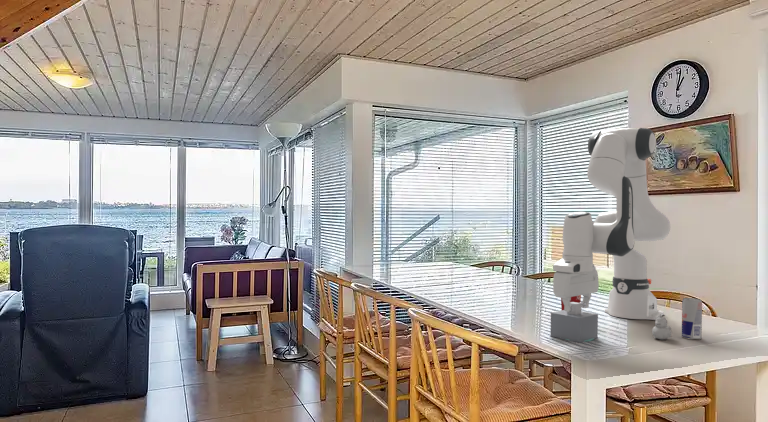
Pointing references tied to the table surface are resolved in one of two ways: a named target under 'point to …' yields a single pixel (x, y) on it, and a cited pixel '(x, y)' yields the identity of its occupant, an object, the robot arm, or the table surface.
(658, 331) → the rubber duck
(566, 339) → the disc
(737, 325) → the table surface
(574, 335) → the grey rectangular box
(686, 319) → the energy drink
